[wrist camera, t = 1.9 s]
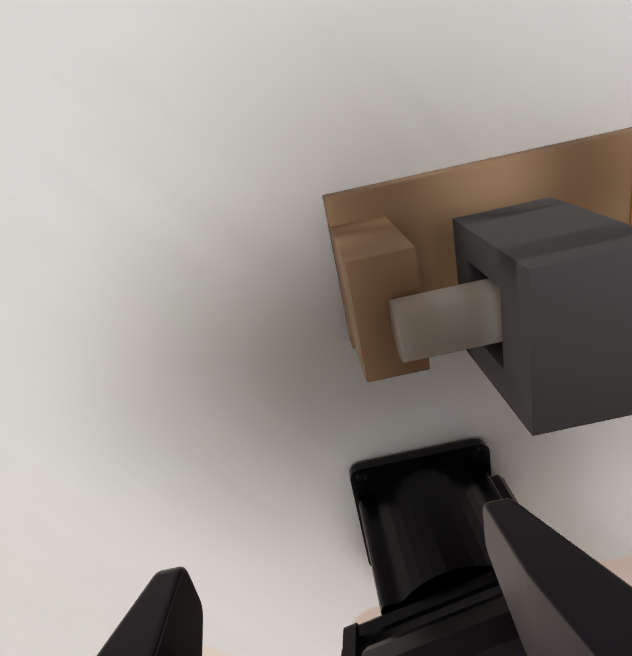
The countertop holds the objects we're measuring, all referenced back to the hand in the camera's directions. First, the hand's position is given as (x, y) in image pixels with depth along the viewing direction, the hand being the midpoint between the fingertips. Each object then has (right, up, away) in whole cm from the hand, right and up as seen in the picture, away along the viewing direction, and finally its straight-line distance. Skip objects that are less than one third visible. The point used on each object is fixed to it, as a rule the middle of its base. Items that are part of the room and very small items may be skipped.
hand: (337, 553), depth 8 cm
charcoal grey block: (+6, +5, +8) cm, 11 cm away
